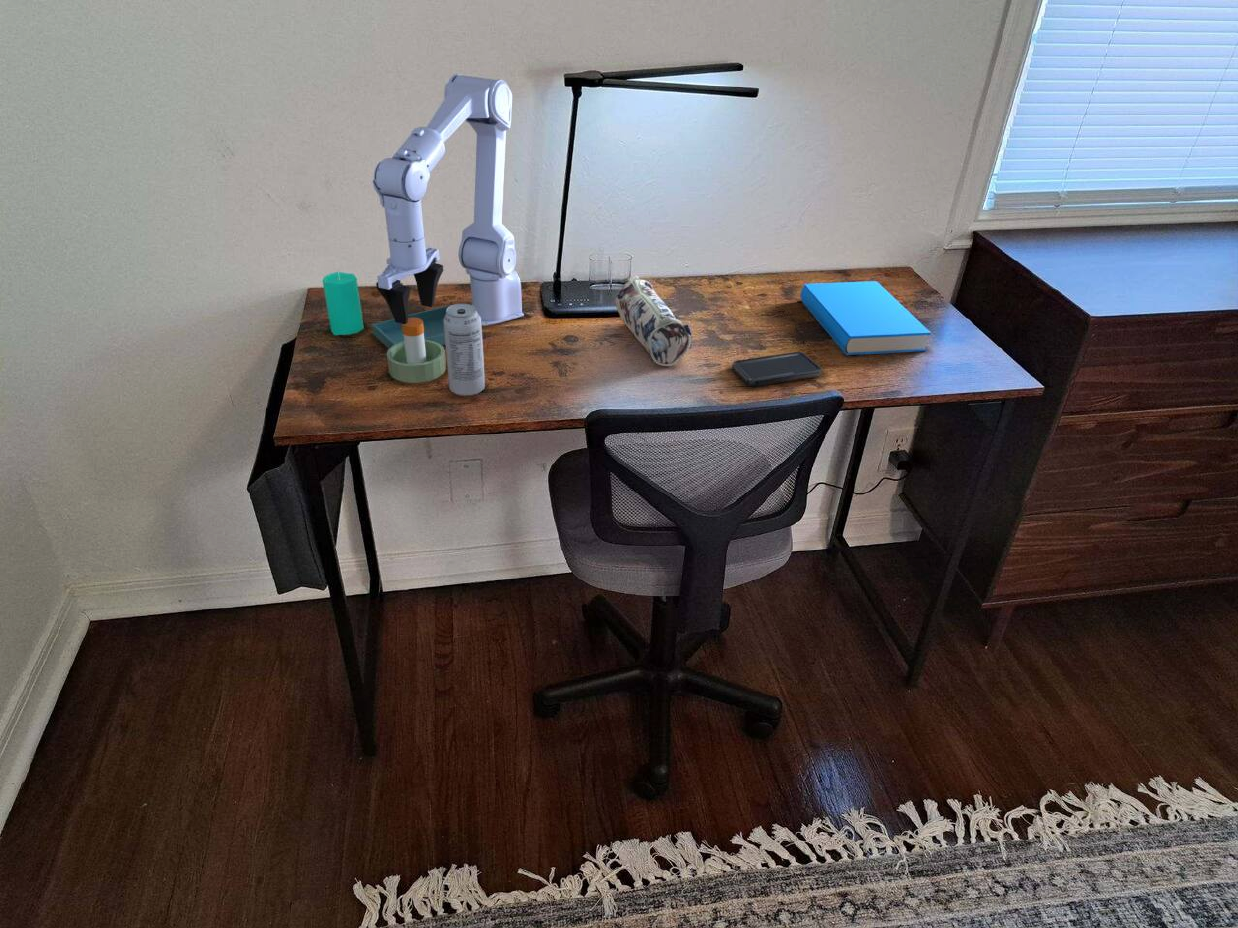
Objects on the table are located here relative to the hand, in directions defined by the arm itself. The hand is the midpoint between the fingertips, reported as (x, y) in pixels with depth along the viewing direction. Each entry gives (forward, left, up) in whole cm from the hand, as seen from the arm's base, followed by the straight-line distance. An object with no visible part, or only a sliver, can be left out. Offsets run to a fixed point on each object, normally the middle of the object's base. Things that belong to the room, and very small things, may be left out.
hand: (414, 314), depth 143 cm
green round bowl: (+1, +1, -10) cm, 10 cm away
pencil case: (-41, +14, -11) cm, 45 cm away
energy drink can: (-3, +12, -11) cm, 16 cm away
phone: (-53, +36, -10) cm, 65 cm away
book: (-82, +31, -11) cm, 88 cm away
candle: (+5, -21, -11) cm, 24 cm away
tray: (-6, -10, -10) cm, 16 cm away
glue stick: (+1, +1, -10) cm, 10 cm away
